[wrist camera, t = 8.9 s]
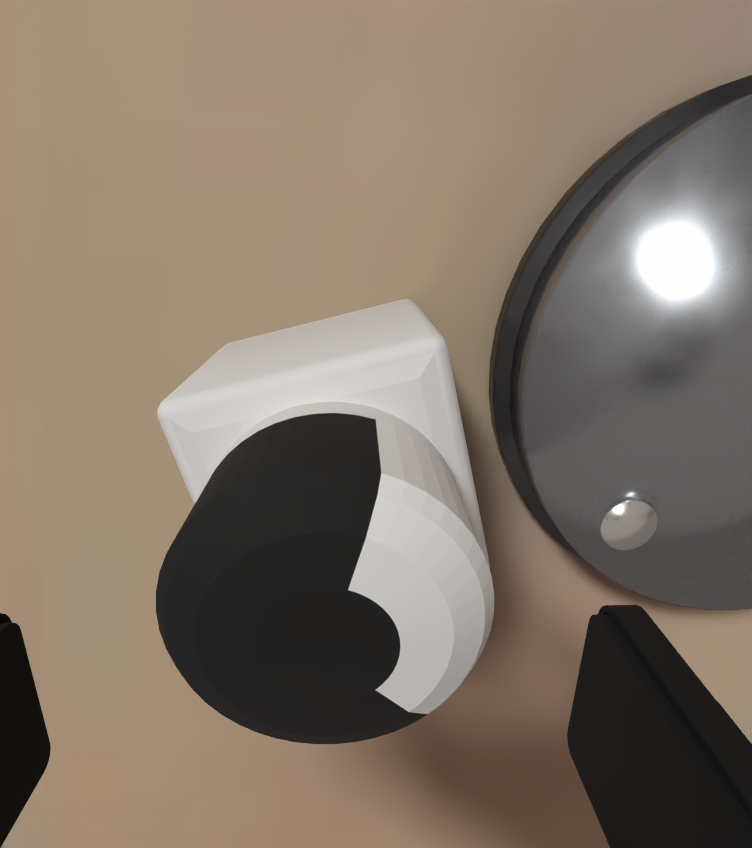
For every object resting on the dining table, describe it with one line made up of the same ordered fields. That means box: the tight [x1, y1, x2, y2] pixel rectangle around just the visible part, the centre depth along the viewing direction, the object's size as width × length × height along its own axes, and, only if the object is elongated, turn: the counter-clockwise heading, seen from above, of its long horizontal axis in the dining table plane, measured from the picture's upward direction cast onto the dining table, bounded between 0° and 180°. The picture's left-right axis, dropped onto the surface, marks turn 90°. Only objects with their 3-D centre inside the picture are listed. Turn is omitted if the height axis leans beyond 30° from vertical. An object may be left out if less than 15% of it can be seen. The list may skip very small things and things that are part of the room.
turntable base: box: [489, 75, 752, 558], centre depth 19 cm, size 19×19×1 cm
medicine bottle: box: [156, 299, 494, 744], centre depth 14 cm, size 7×7×12 cm
